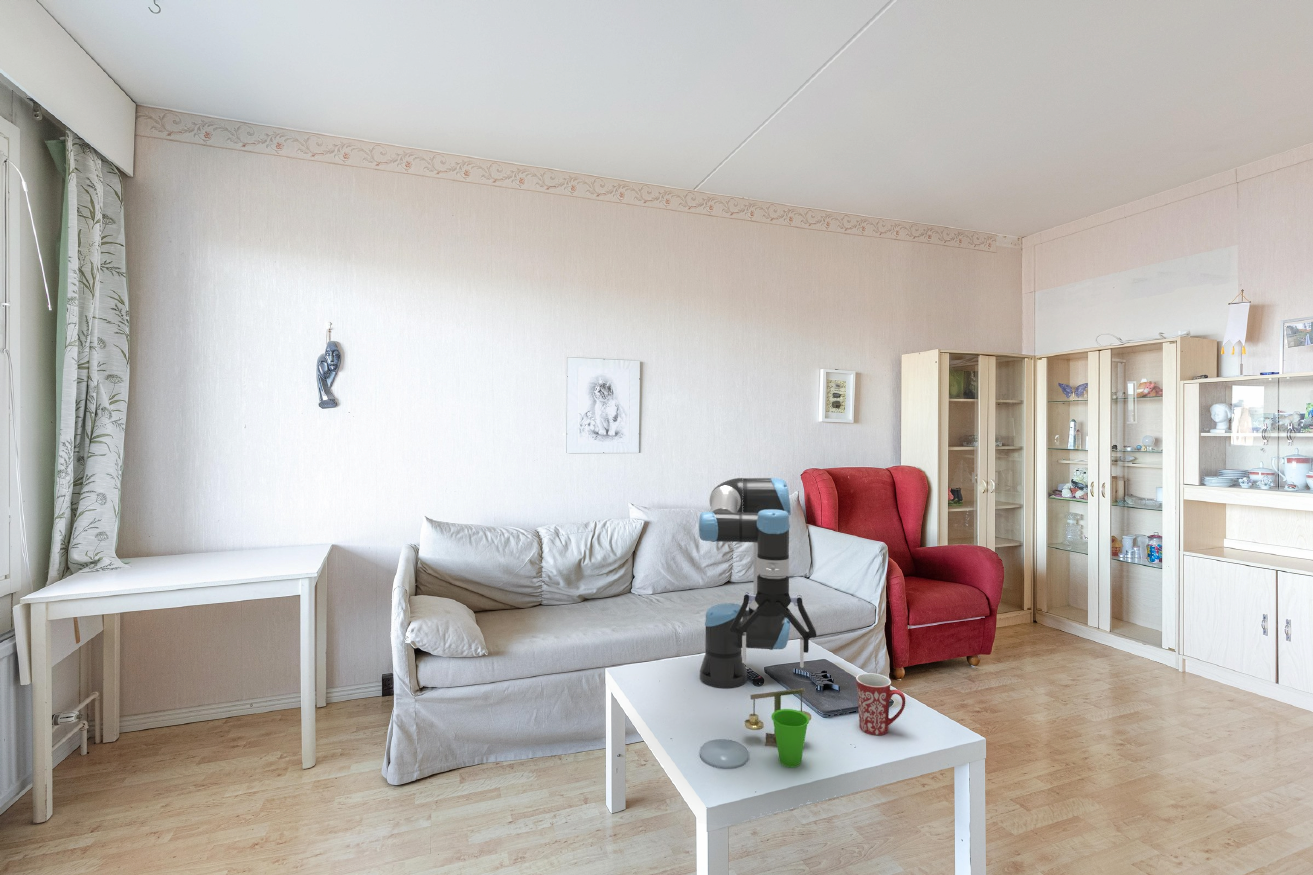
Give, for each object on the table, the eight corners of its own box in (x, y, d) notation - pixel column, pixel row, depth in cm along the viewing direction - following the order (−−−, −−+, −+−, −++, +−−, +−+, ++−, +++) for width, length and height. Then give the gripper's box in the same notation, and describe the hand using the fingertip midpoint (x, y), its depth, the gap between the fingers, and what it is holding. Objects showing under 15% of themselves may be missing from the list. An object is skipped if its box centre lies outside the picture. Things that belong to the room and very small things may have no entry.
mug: (851, 730, 167) (851, 681, 166) (861, 717, 174) (861, 669, 174) (900, 744, 160) (900, 692, 159) (908, 730, 167) (909, 680, 167)
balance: (743, 743, 160) (743, 688, 160) (744, 733, 165) (744, 680, 165) (811, 749, 157) (812, 693, 157) (810, 739, 162) (810, 685, 162)
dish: (702, 740, 162) (702, 736, 162) (749, 745, 159) (749, 741, 159) (697, 765, 150) (697, 761, 150) (747, 771, 148) (747, 766, 148)
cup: (809, 774, 146) (810, 728, 146) (770, 769, 148) (770, 724, 148) (808, 753, 155) (808, 710, 155) (771, 750, 157) (771, 707, 157)
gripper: (719, 576, 148) (719, 664, 148) (827, 581, 143) (827, 673, 143) (722, 569, 155) (722, 653, 156) (826, 573, 150) (825, 661, 150)
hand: (772, 663), depth 149 cm, fingers open, 13 cm apart
